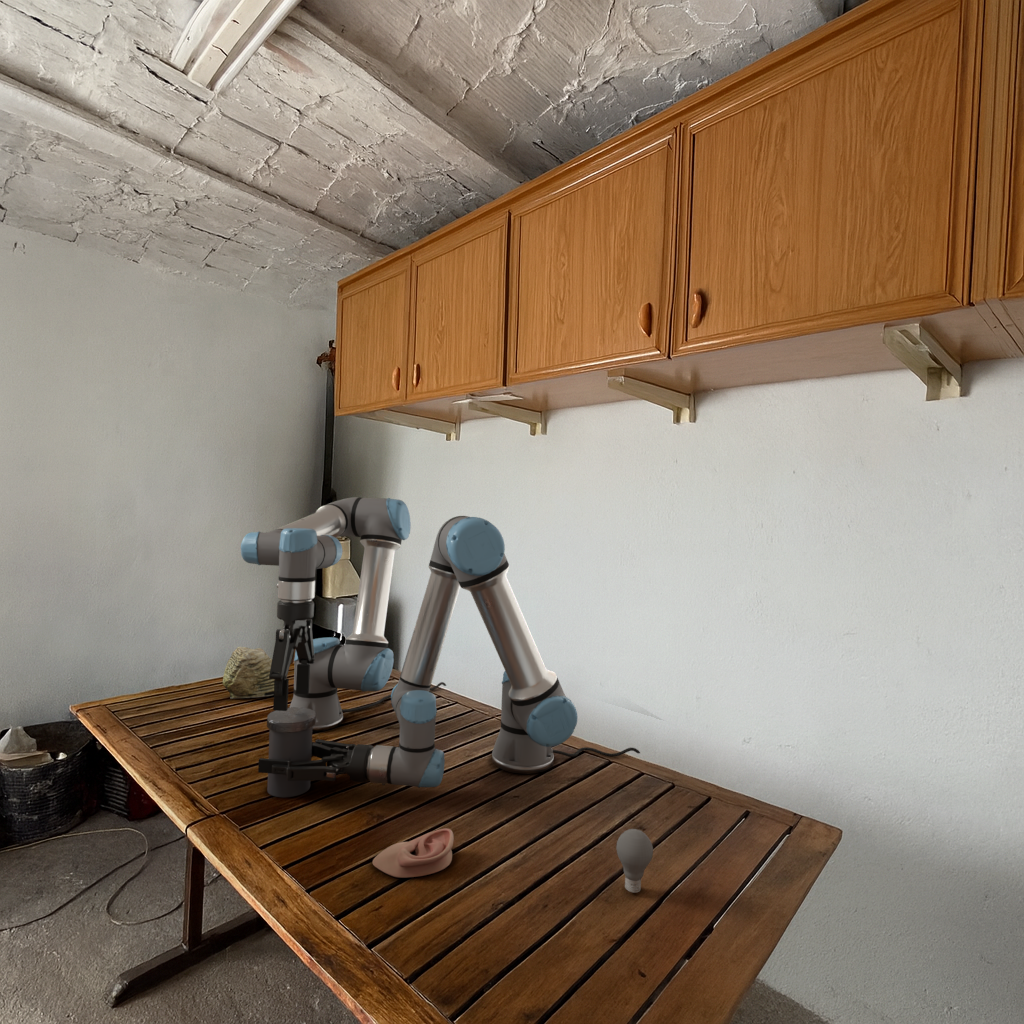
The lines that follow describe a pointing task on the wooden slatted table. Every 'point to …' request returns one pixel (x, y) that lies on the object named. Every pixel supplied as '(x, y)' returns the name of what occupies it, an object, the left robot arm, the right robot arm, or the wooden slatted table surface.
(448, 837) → the anatomical model
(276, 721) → the lid
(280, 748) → the jar
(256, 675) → the fossil
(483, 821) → the wooden slatted table surface
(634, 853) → the light bulb
